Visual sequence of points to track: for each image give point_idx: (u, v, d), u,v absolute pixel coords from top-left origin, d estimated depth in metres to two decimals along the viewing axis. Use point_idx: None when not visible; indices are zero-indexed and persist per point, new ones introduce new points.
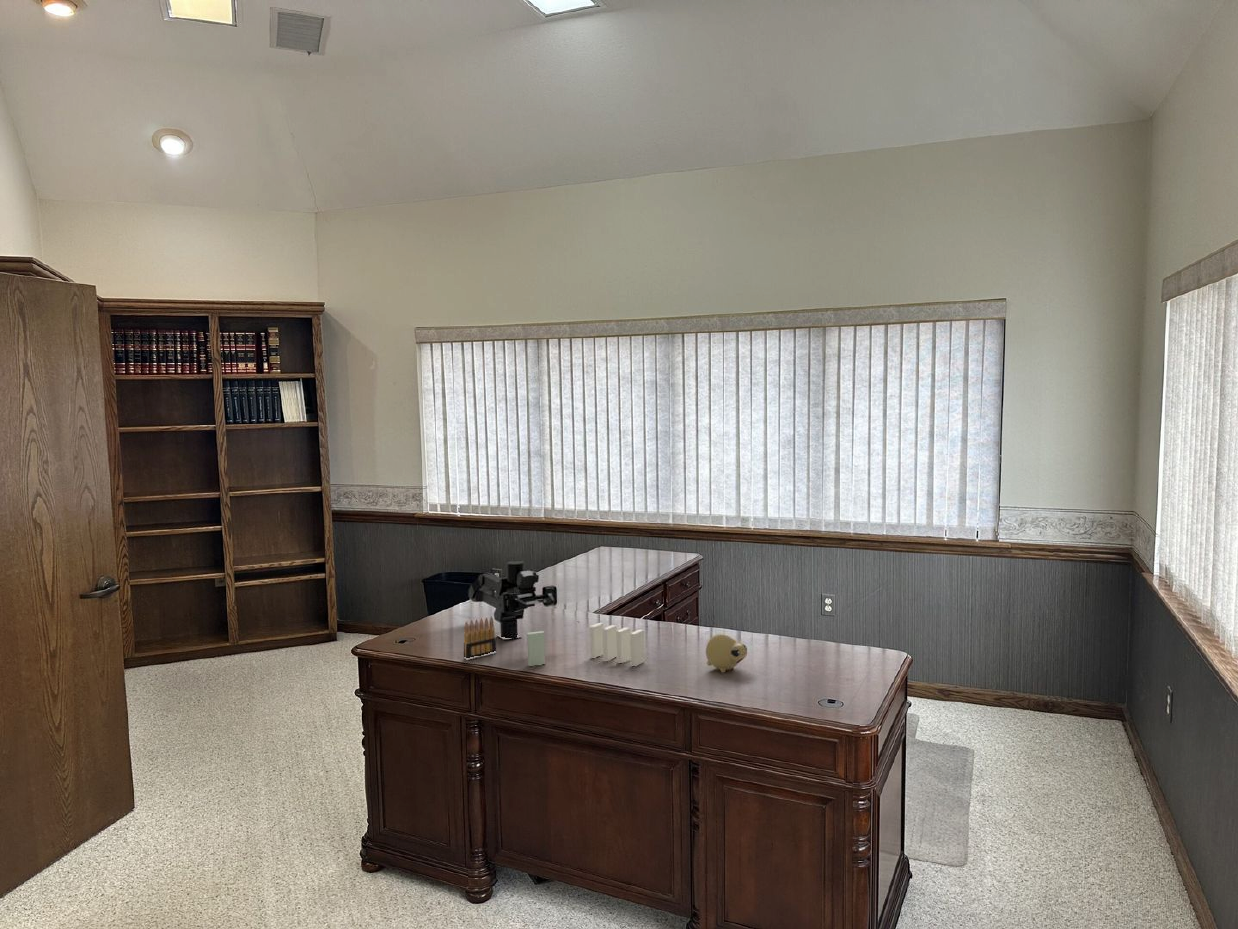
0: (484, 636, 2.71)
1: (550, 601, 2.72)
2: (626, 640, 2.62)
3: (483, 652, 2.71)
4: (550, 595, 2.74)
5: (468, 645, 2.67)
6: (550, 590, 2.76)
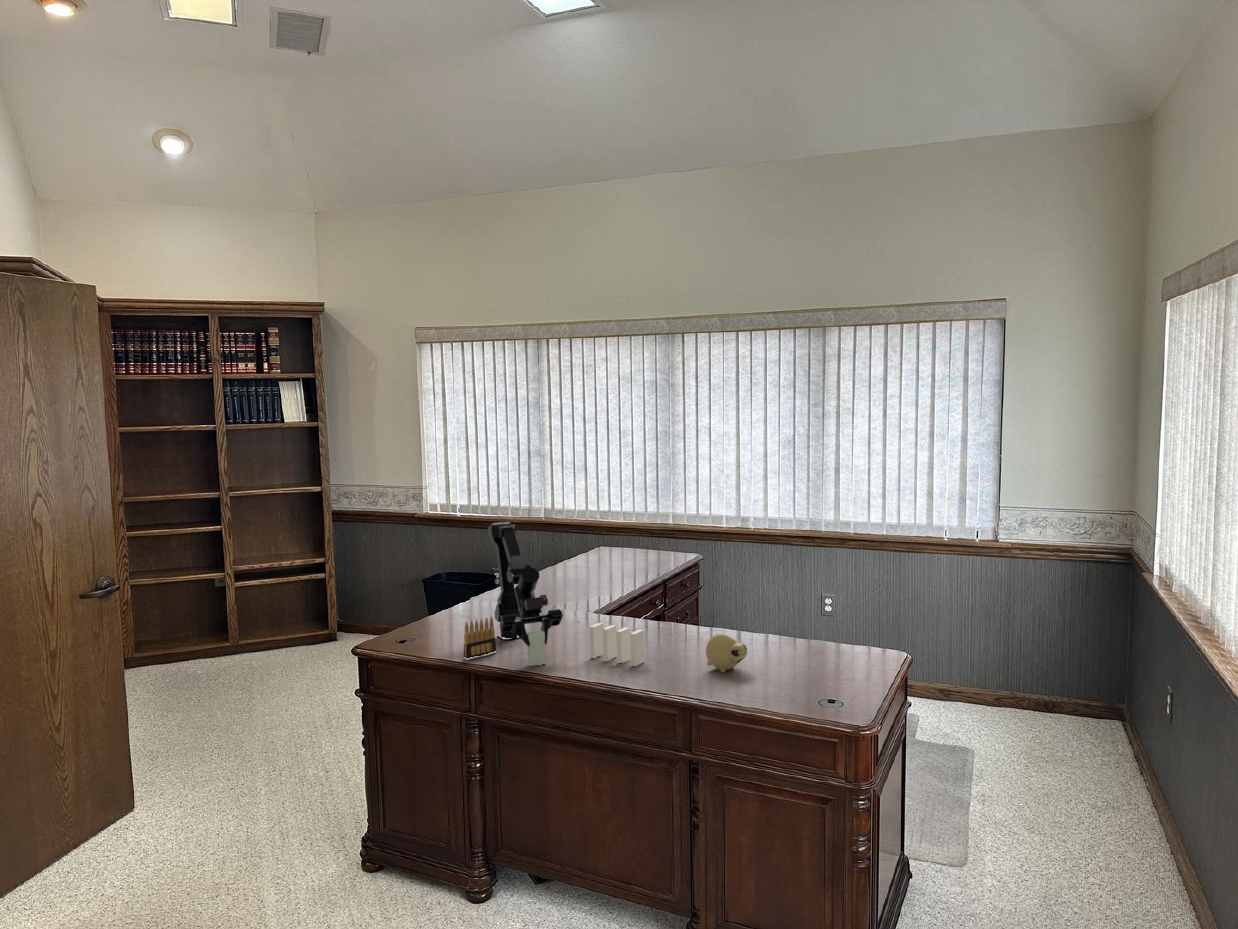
0: (484, 636, 2.71)
1: None
2: (626, 640, 2.62)
3: (483, 652, 2.71)
4: (546, 629, 2.62)
5: (468, 645, 2.67)
6: (548, 621, 2.63)
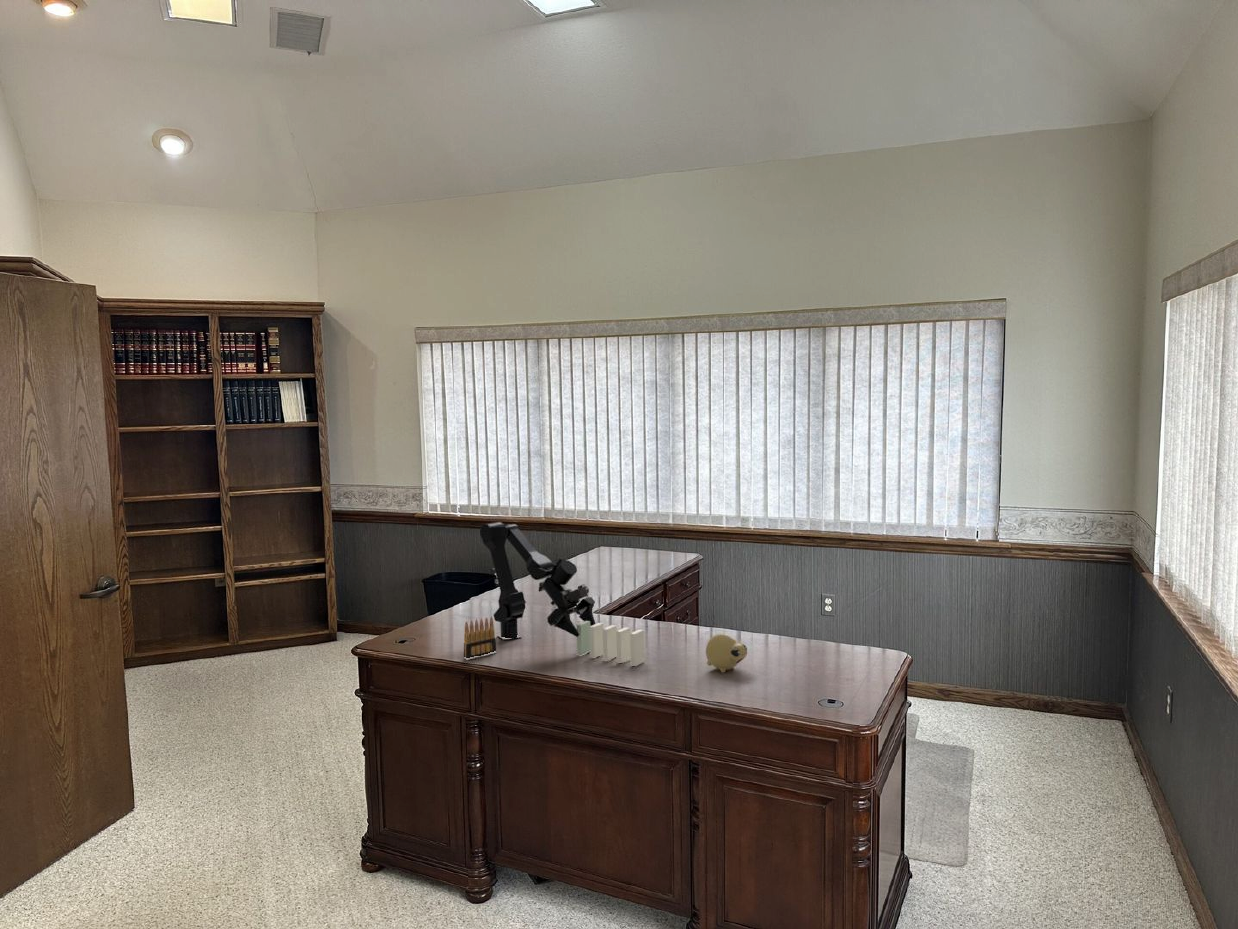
0: (484, 636, 2.71)
1: (590, 623, 2.74)
2: (626, 640, 2.62)
3: (483, 652, 2.71)
4: (592, 616, 2.75)
5: (468, 645, 2.67)
6: (591, 607, 2.76)
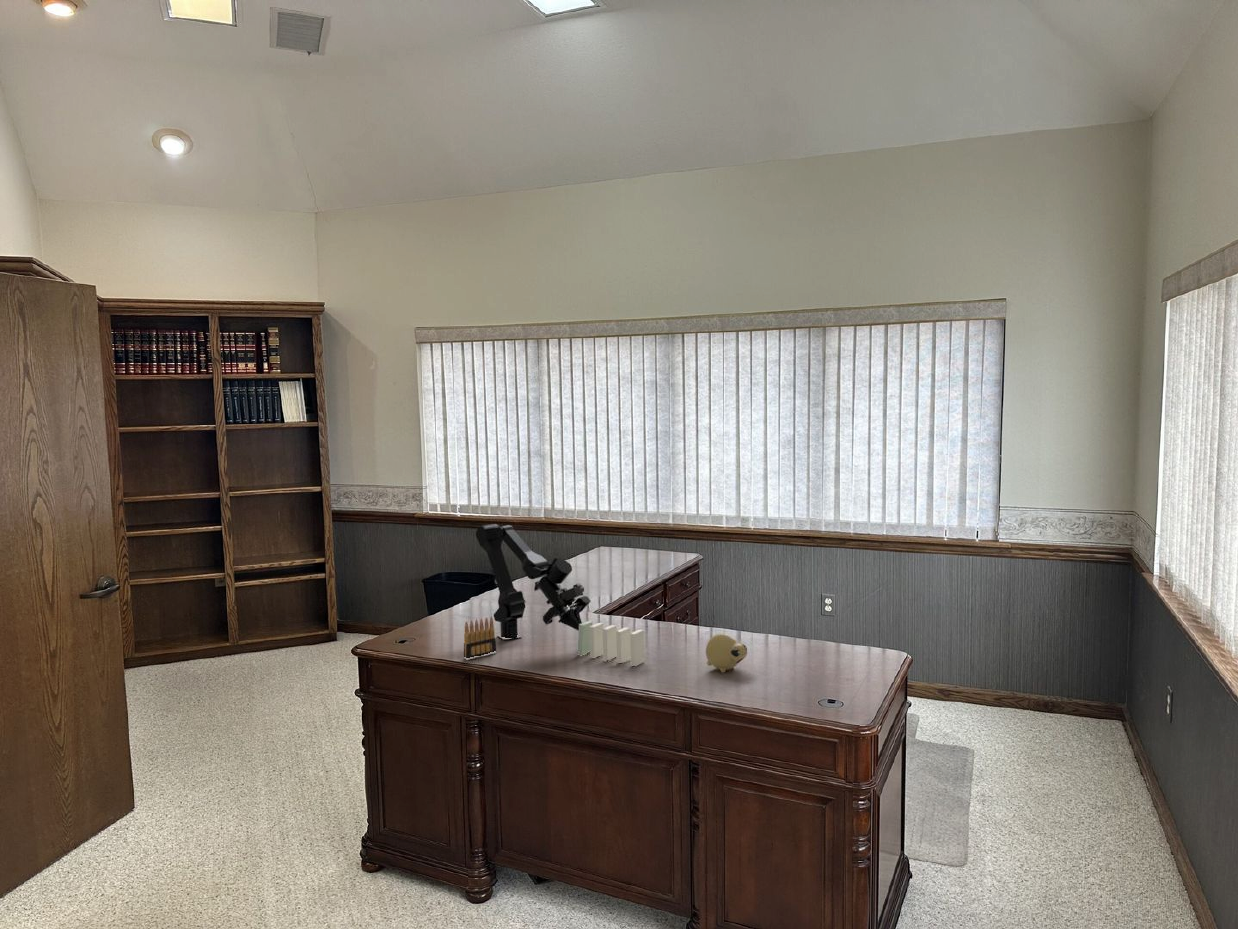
0: (484, 636, 2.71)
1: None
2: (626, 640, 2.62)
3: (483, 652, 2.71)
4: (579, 617, 2.72)
5: (468, 645, 2.67)
6: (579, 609, 2.73)
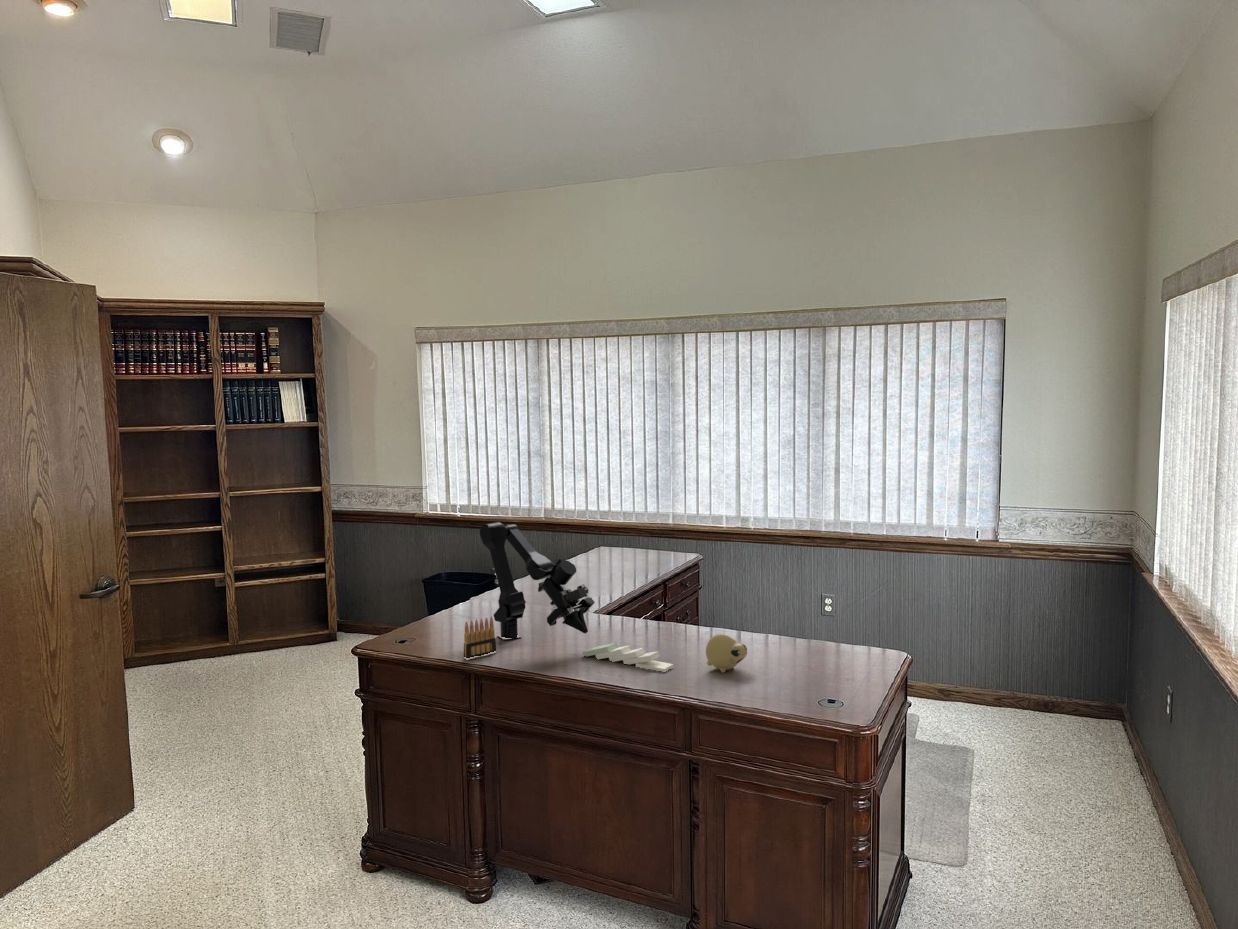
0: (484, 636, 2.71)
1: None
2: None
3: (483, 652, 2.71)
4: (583, 619, 2.71)
5: (468, 645, 2.67)
6: (583, 611, 2.73)
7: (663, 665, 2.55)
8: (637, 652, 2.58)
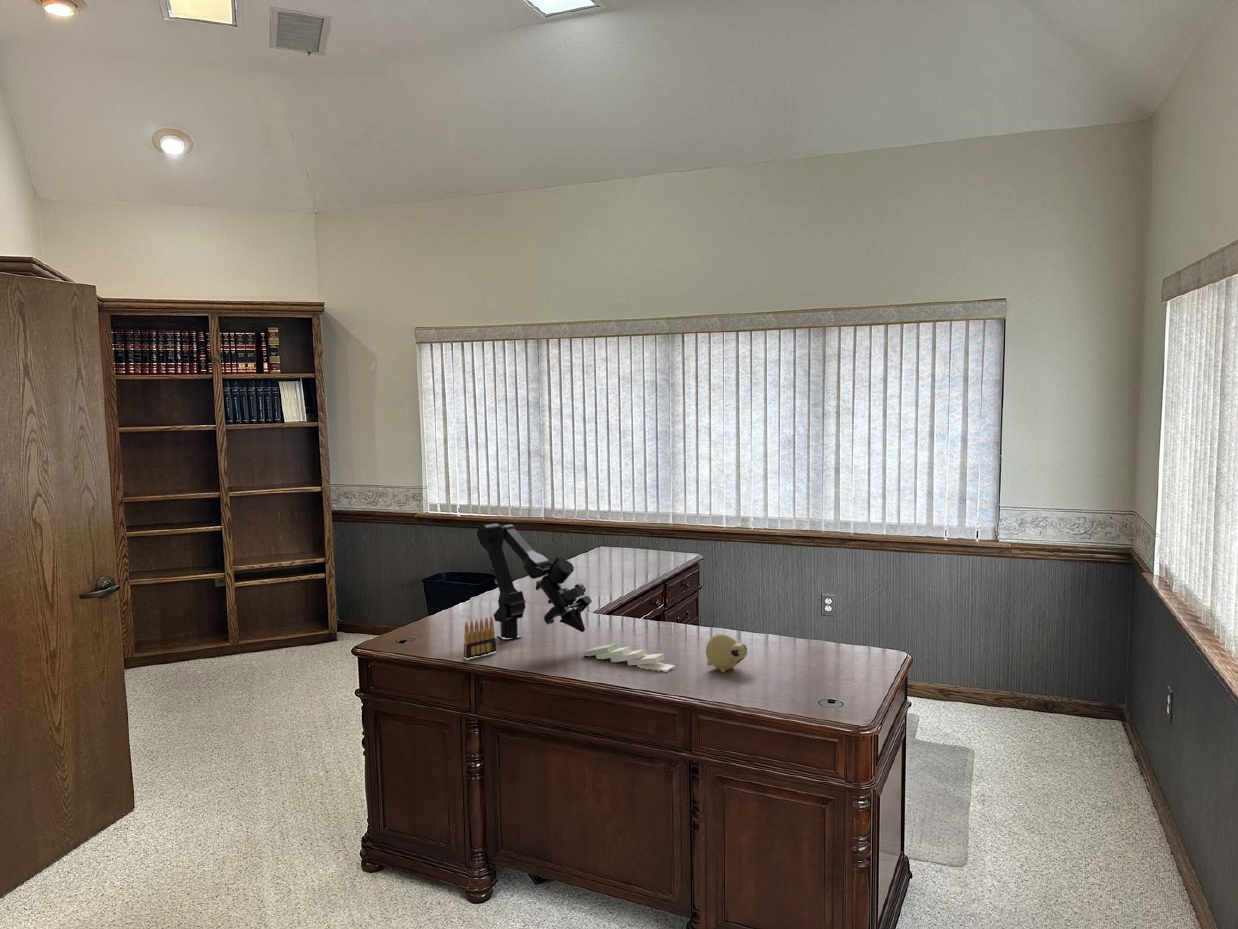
0: (484, 636, 2.71)
1: None
2: None
3: (483, 652, 2.71)
4: (580, 618, 2.72)
5: (468, 645, 2.67)
6: (580, 609, 2.73)
7: (665, 667, 2.54)
8: (638, 654, 2.57)
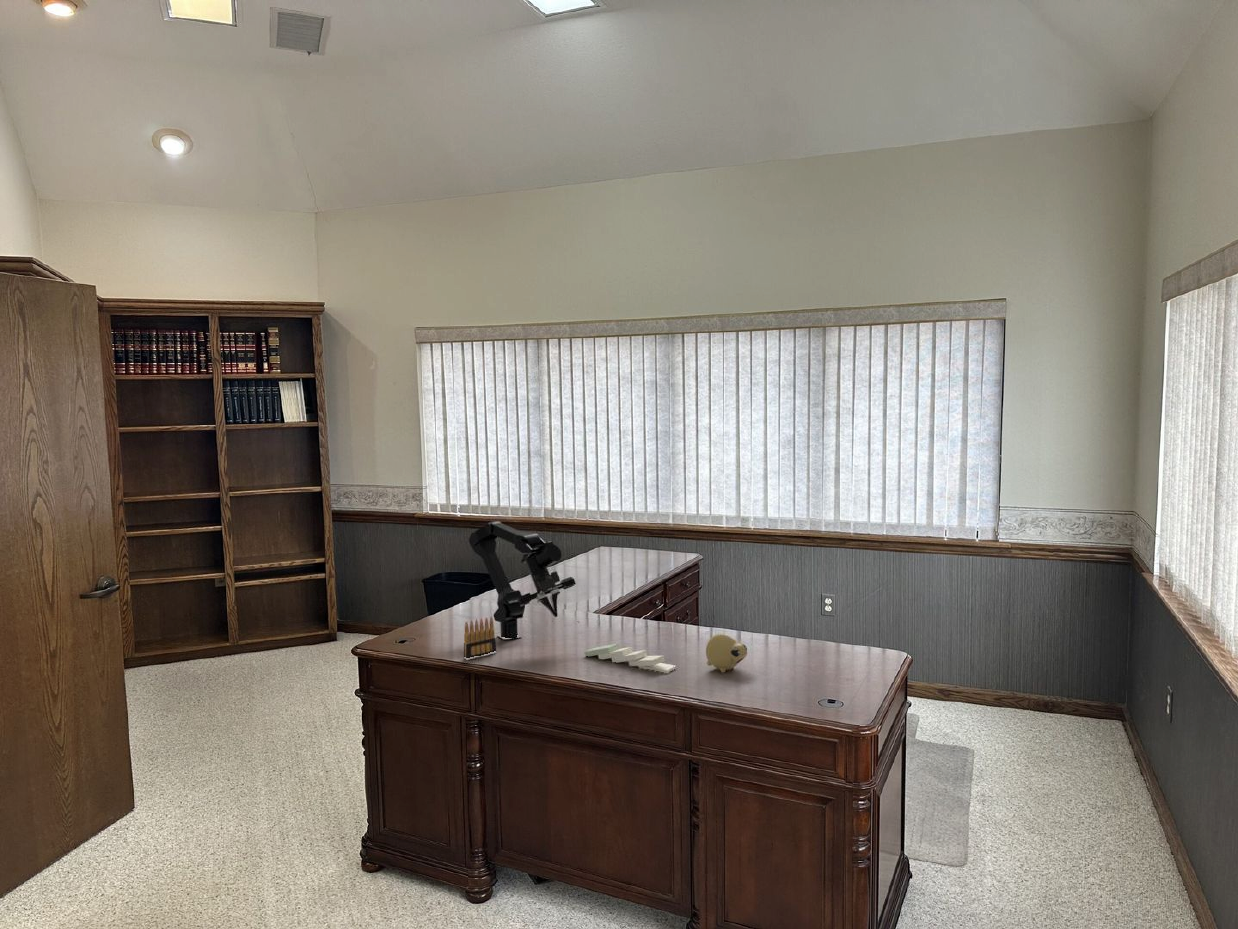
0: (484, 636, 2.71)
1: (553, 609, 2.76)
2: None
3: (483, 652, 2.71)
4: (555, 603, 2.75)
5: (468, 645, 2.67)
6: (556, 595, 2.75)
7: (666, 667, 2.54)
8: (637, 655, 2.56)
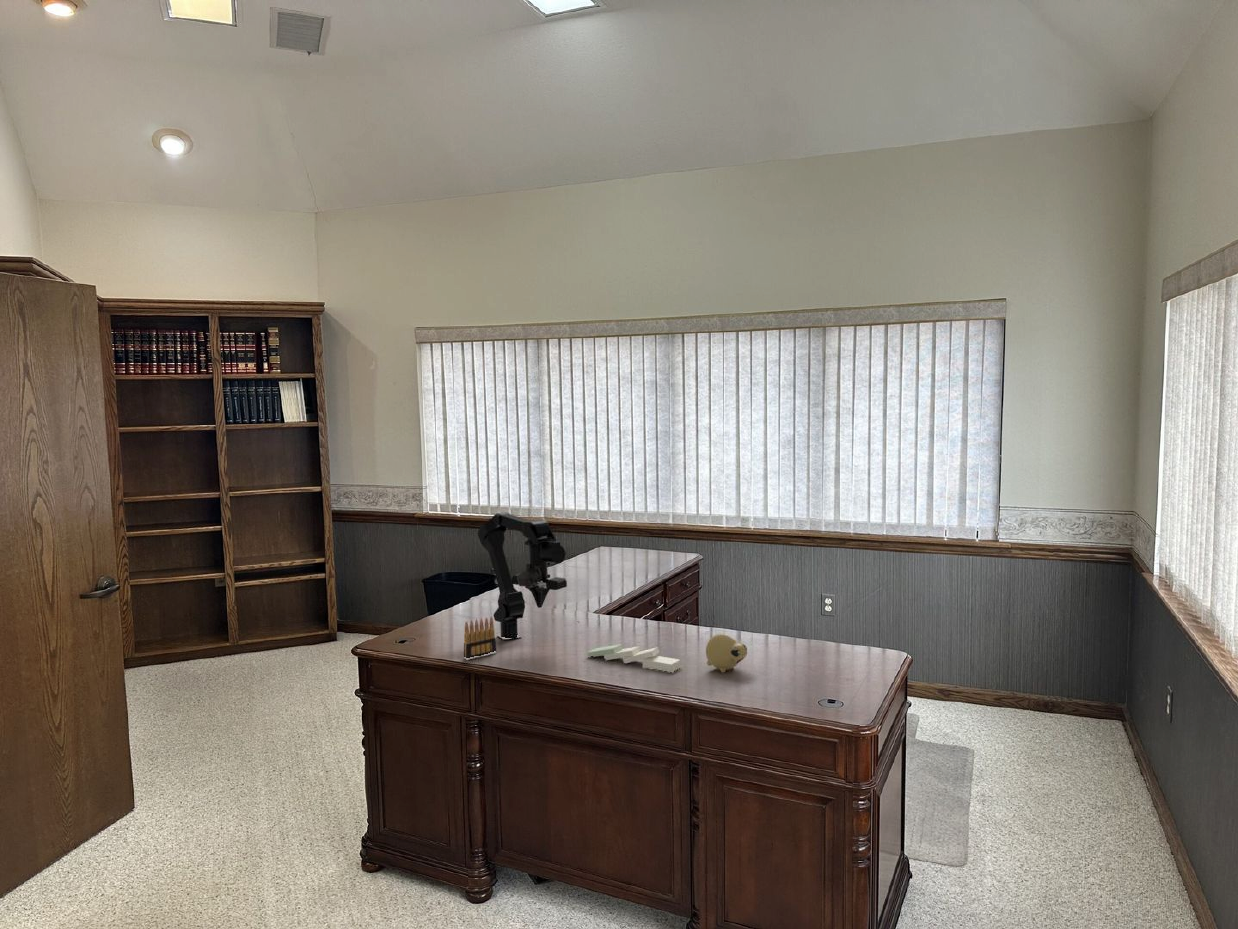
0: (484, 636, 2.71)
1: None
2: None
3: (483, 652, 2.71)
4: (539, 596, 2.77)
5: (468, 645, 2.67)
6: (539, 591, 2.75)
7: None
8: (653, 651, 2.57)
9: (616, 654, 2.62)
